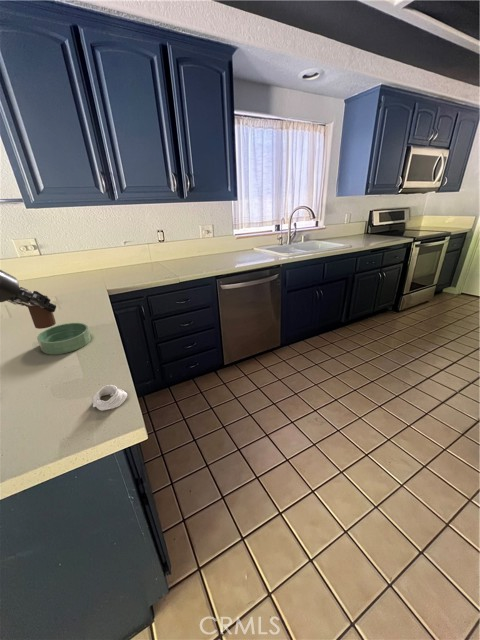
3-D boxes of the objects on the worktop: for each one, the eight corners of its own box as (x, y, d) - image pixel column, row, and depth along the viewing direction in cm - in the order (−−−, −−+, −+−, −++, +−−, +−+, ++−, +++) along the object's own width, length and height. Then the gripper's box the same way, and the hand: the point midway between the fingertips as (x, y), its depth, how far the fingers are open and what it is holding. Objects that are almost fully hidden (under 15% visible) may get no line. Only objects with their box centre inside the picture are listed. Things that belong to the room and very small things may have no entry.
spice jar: (32, 329, 76) (22, 302, 73) (39, 322, 81) (29, 296, 77) (52, 327, 78) (43, 300, 74) (58, 320, 82) (50, 294, 79)
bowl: (35, 359, 86) (29, 345, 84) (50, 337, 100) (46, 325, 97) (86, 351, 90) (82, 338, 88) (94, 332, 104) (91, 320, 101)
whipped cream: (128, 394, 72) (126, 378, 71) (126, 409, 66) (124, 392, 65) (96, 398, 70) (93, 382, 68) (91, 414, 64) (88, 397, 62)
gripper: (18, 269, 63) (71, 299, 79) (-28, 265, 66) (32, 295, 82) (3, 297, 61) (61, 322, 76) (-43, 292, 64) (21, 317, 79)
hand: (46, 308), depth 79 cm, fingers closed on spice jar, 5 cm apart
